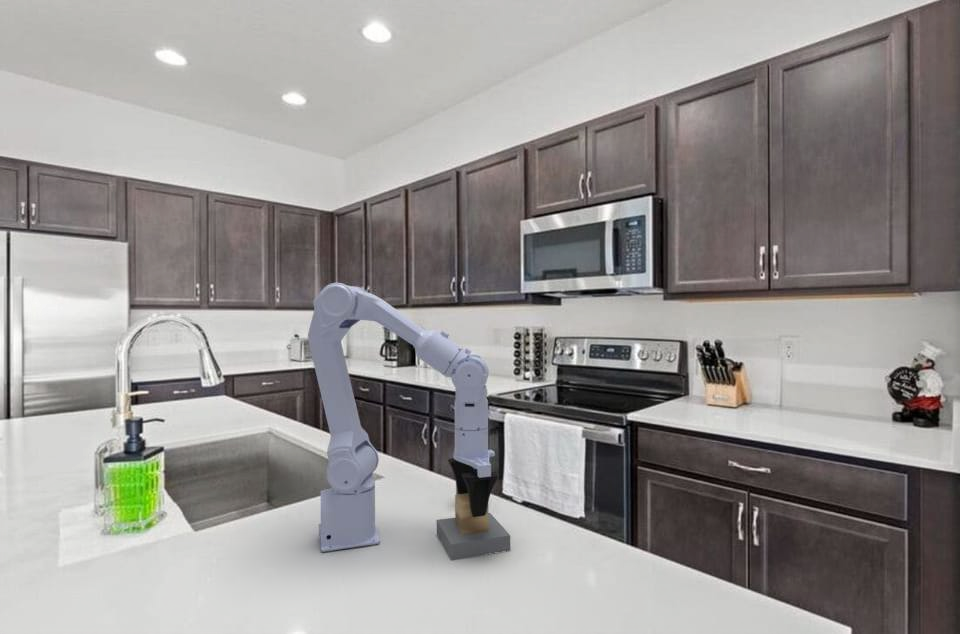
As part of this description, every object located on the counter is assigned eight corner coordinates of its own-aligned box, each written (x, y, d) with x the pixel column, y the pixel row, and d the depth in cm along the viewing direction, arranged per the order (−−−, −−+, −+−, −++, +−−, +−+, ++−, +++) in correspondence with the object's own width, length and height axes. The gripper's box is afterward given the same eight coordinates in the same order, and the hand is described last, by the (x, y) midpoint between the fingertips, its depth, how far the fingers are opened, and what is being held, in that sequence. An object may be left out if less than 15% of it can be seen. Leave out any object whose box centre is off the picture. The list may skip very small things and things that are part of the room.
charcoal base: (451, 563, 77) (451, 544, 77) (436, 537, 86) (436, 520, 86) (510, 553, 80) (510, 535, 80) (490, 529, 90) (489, 512, 90)
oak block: (461, 534, 80) (461, 504, 80) (455, 523, 85) (455, 494, 85) (488, 530, 82) (488, 500, 82) (480, 520, 86) (480, 491, 86)
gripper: (508, 434, 78) (509, 520, 78) (480, 417, 92) (481, 490, 91) (466, 438, 76) (466, 526, 75) (443, 420, 89) (444, 494, 89)
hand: (471, 507), depth 83 cm, fingers open, 7 cm apart
